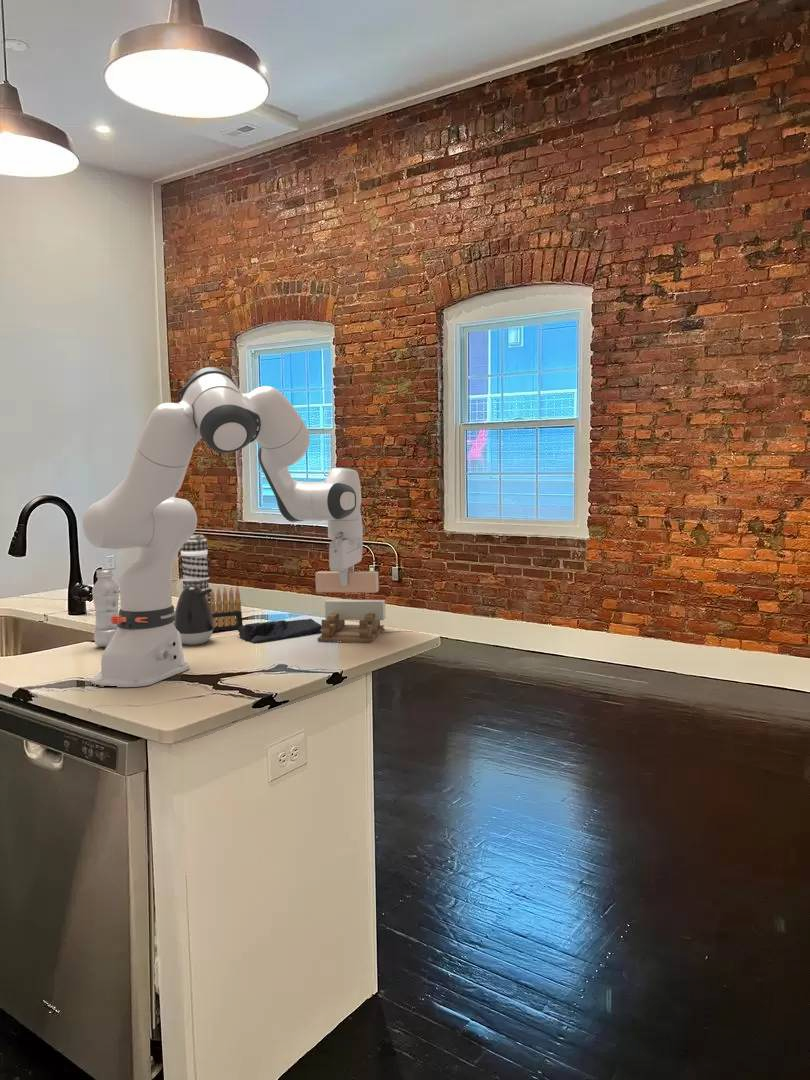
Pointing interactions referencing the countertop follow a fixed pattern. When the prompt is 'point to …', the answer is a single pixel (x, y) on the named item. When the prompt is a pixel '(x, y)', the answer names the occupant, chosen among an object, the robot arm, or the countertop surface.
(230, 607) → the ammunition clip
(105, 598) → the plastic bottle
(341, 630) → the walnut drying rack
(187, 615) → the pump dispenser
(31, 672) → the countertop surface
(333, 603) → the cream rectangular bar
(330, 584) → the clay strip
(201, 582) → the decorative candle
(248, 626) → the dark slate chunk
